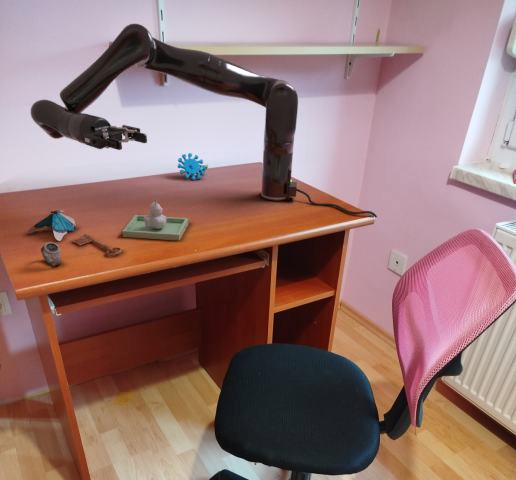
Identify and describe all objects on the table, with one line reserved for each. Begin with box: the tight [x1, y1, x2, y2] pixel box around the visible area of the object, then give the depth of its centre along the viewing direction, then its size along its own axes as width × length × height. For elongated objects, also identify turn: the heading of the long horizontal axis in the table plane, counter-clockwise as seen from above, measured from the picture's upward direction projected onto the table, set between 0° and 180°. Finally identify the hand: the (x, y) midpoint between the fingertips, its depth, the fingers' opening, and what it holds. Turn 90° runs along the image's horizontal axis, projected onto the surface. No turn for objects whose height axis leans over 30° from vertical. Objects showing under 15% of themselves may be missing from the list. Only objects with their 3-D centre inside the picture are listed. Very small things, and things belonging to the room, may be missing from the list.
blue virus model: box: [177, 152, 209, 181], centre depth 170 cm, size 11×6×10 cm
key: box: [72, 233, 123, 256], centre depth 120 cm, size 6×1×15 cm
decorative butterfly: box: [26, 210, 77, 242], centre depth 126 cm, size 10×6×10 cm
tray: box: [121, 214, 190, 242], centre depth 130 cm, size 15×12×2 cm
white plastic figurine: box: [143, 199, 167, 229], centre depth 128 cm, size 5×7×8 cm
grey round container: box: [40, 241, 62, 267], centre depth 111 cm, size 4×6×5 cm, turn 49°
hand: (133, 142), depth 121 cm, fingers open, 8 cm apart
